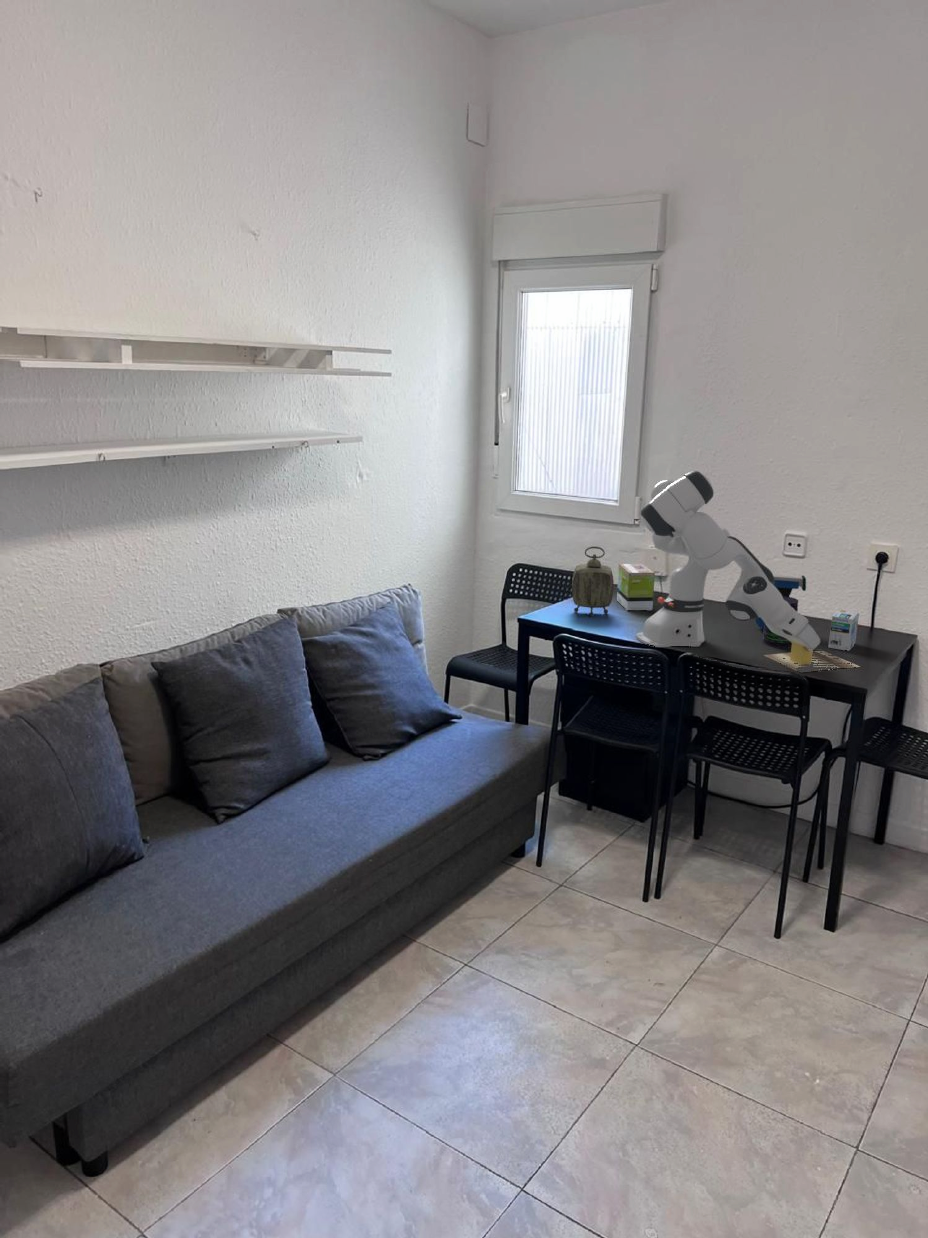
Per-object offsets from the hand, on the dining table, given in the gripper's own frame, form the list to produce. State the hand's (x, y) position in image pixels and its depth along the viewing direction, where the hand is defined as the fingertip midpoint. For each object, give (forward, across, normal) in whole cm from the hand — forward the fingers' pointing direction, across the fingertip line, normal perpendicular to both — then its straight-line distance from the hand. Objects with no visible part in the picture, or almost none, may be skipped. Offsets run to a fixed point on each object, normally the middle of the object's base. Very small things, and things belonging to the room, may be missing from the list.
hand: (804, 646), depth 288 cm
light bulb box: (+21, -11, +14) cm, 27 cm away
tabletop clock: (-24, -67, -31) cm, 78 cm away
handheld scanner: (+14, -32, +7) cm, 35 cm away
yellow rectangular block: (+3, 0, -4) cm, 5 cm away
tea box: (-8, -75, -15) cm, 77 cm away
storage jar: (+7, -19, 0) cm, 20 cm away
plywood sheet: (+6, 0, -1) cm, 6 cm away
